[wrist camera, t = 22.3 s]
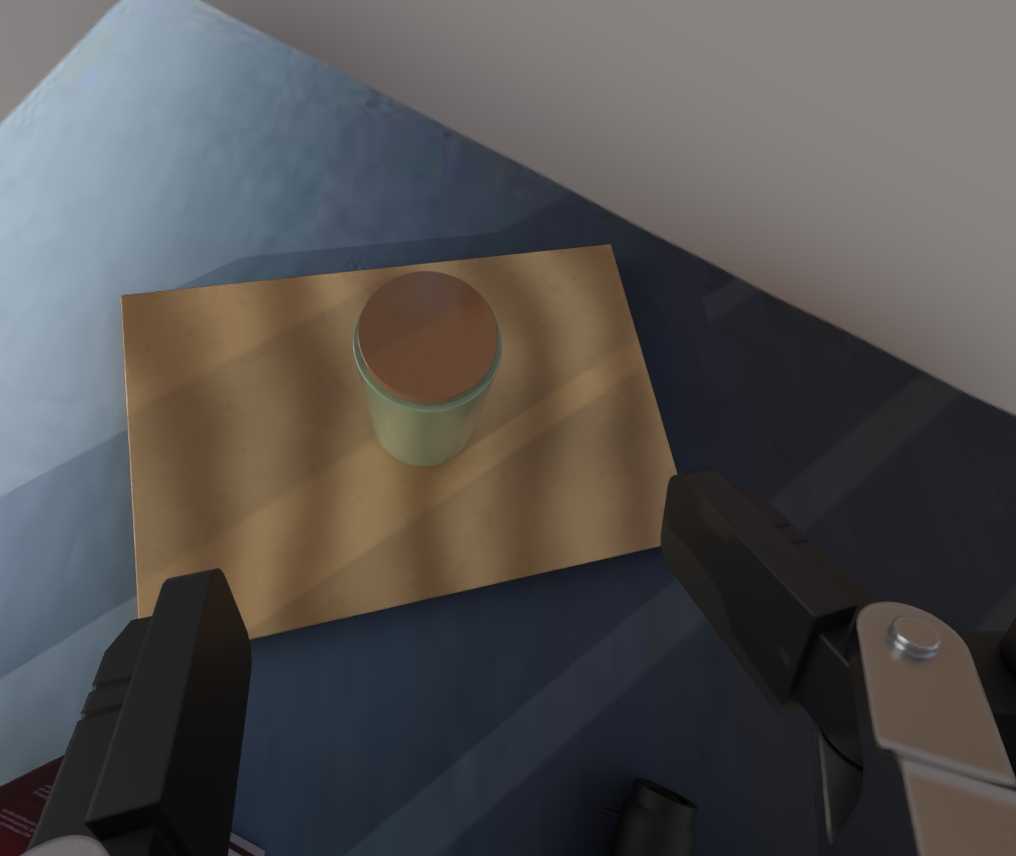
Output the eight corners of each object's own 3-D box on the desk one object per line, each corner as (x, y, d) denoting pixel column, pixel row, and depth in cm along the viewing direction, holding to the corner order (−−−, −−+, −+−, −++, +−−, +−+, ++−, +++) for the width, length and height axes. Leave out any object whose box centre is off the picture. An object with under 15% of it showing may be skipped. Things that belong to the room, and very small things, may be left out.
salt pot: (380, 475, 25) (363, 417, 17) (364, 375, 26) (340, 273, 18) (485, 456, 26) (519, 393, 18) (465, 361, 27) (488, 257, 19)
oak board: (153, 661, 23) (140, 664, 22) (132, 307, 27) (119, 294, 25) (685, 540, 28) (696, 538, 27) (603, 255, 32) (611, 243, 30)
